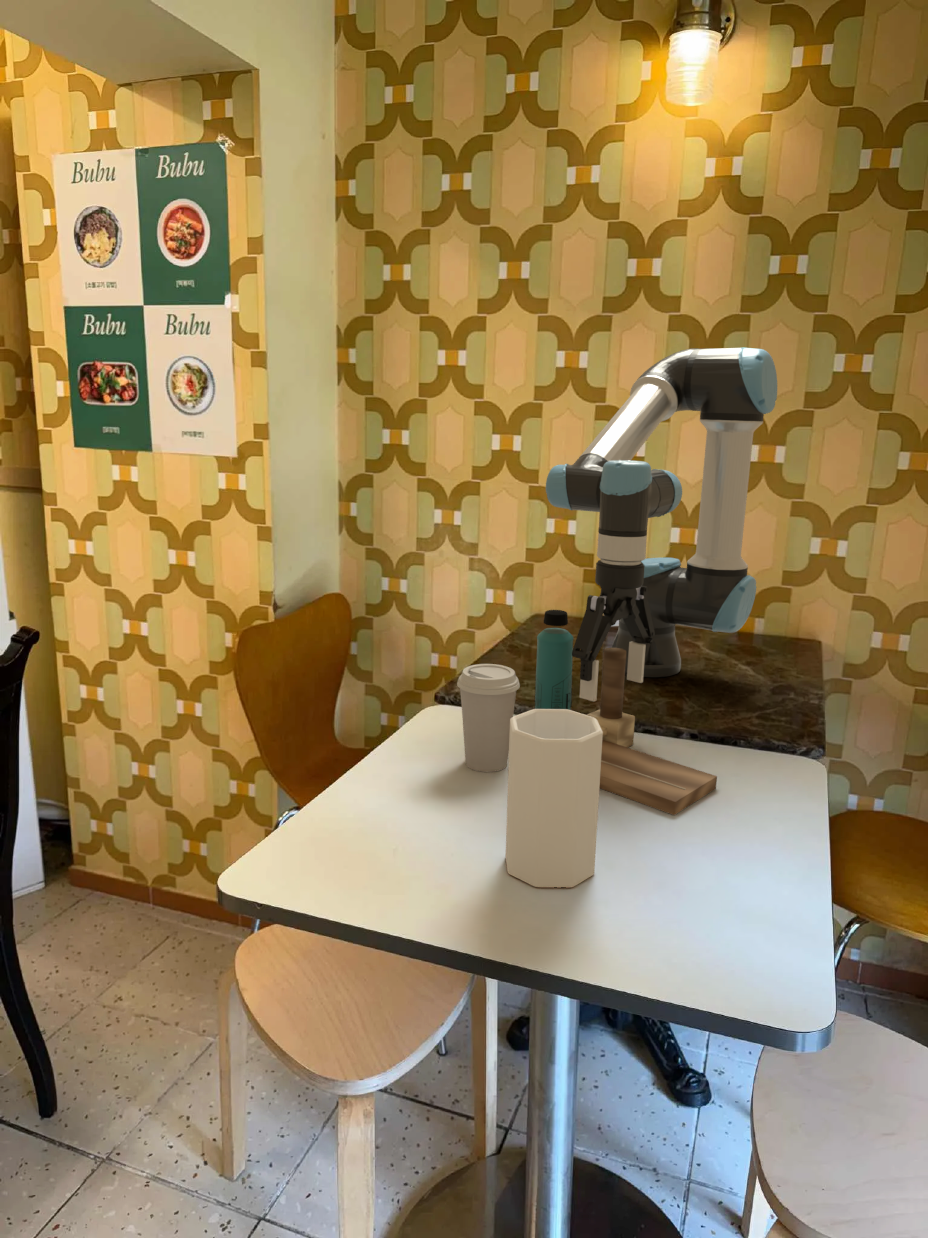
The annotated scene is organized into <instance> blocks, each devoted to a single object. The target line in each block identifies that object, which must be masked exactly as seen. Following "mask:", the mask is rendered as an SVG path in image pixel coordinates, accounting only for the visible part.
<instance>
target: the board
mask: <svg viewBox="0 0 928 1238" xmlns="http://www.w3.org/2000/svg"><path fill="white" fill-rule="evenodd" d="M717 781H718V776H717V775H714V774H711V773H708V772H705V771H702V770H700V769H696V768H693V767H690V766H687V765H684V764H680V763H677V762H674V761H671V760H667V759H664V758H661V757H658V756H655V755H653V754H652V755H651V754H649V753H646V752H643V751H640V750H636V749H633V748H630V747H624V746H621V745H618V744H615V743H612V742H608V741H605V740H602V753H601V770H600V787H599V790H600V789H601V790H603V791H606V792H610V793H612V794H614V795H618V796H620V797H623V798H626V799H628V800H631V801H634V802H637V803H640V804H642V805H645V806H648V807H650V808H653V809H656V810H659V811H662V812H664V813H668V814H670V815H672V816H675V815H677V814H679V813H680V812H681V811H683V810H685V809H686V808H688V807H690V806H691V805H693V804H694V803H697V801H699V800H701V799H702V798H704V797H705V796H707V795H708V794H710V793H711V792H713V791H715V790H716V789H717Z"/></svg>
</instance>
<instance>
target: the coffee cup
mask: <svg viewBox="0 0 928 1238" xmlns="http://www.w3.org/2000/svg"><path fill="white" fill-rule="evenodd" d="M456 685H457V687H458V688H459V691H460V702H461V716H462V727H463V728H462V730H463V732H462V733H463V746H464V758H465V759H464V761H465V762H464V763H465V766H466V767H467V768H468V769H470V770H472V771H476V772H481V773H495V772H500V771H502V770H504V769H506V768H507V767H508V764H509V737H510V719H511V718H512V717H514V714H515V705H516V695H517V690H519V689H520V686H521V684H520V680H519V678H518V676H517V675H516V671H515V670H514V669H513V668H511V667H510V666H509V667H508V666H506V665H502V664H498V663H497V664H495V663H494V664H493V663H479V664H478V663H477V664H472V665H469V666H468V665H467V667H464V668H463V670H462V672H461V674H460V675H459V677H458V679H457V683H456Z"/></svg>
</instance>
